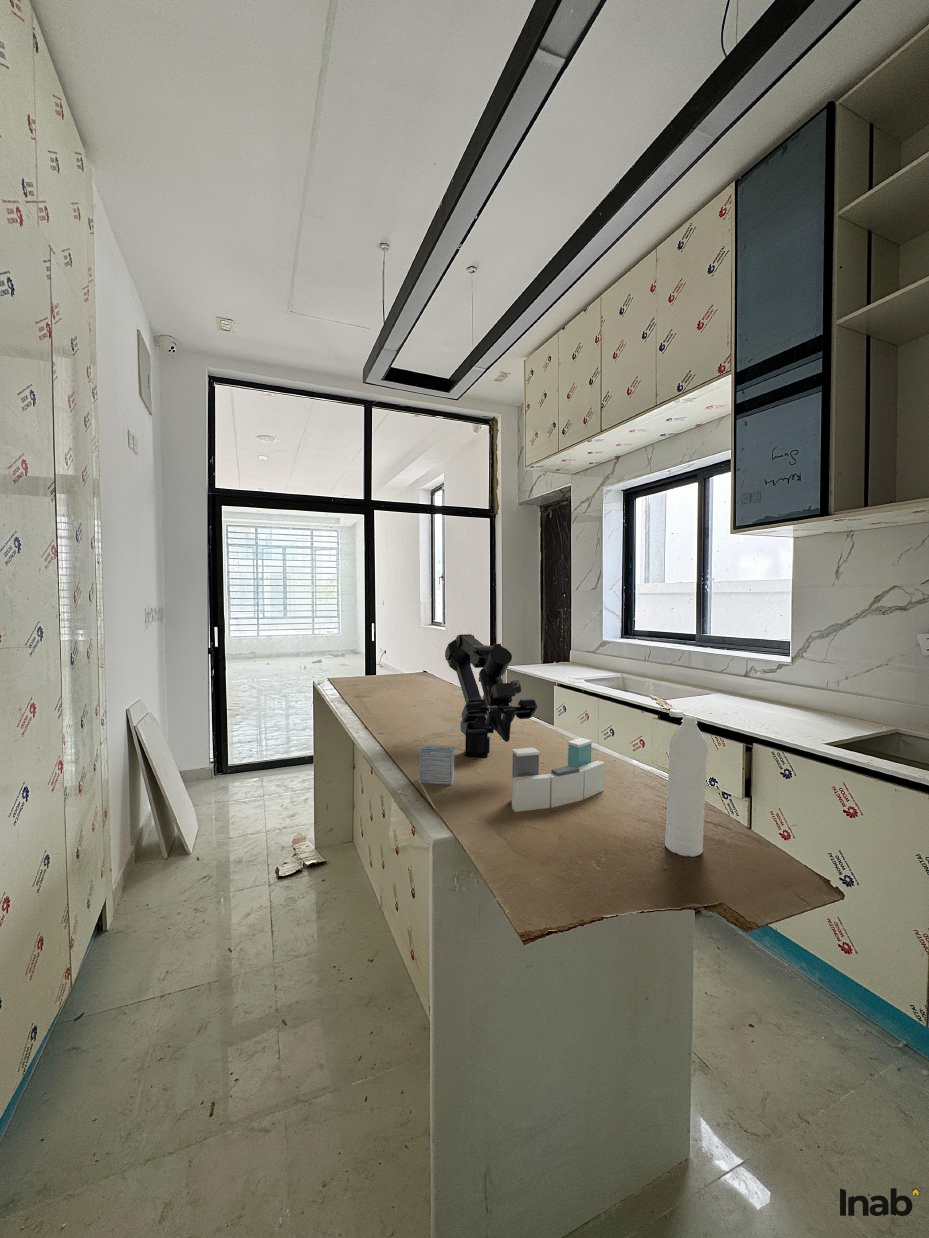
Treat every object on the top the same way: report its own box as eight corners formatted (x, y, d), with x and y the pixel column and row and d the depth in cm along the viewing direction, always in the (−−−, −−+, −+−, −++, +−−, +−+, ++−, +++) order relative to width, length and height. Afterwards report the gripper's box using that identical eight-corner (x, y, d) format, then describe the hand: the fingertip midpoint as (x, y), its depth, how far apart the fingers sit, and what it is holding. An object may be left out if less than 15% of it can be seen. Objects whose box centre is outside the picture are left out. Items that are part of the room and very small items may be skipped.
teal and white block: (566, 789, 124) (567, 741, 123) (579, 784, 128) (580, 737, 127) (577, 793, 122) (579, 744, 121) (590, 788, 125) (592, 740, 125)
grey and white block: (511, 799, 118) (512, 749, 117) (532, 797, 119) (533, 747, 118) (516, 805, 115) (517, 753, 114) (538, 803, 116) (539, 751, 115)
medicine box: (454, 779, 130) (454, 745, 130) (451, 786, 126) (452, 751, 125) (422, 777, 131) (423, 743, 130) (419, 784, 127) (420, 749, 126)
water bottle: (710, 856, 95) (717, 720, 94) (677, 858, 94) (683, 721, 92) (682, 833, 104) (688, 708, 102) (651, 835, 103) (657, 709, 101)
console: (521, 816, 110) (521, 780, 109) (509, 809, 113) (510, 774, 113) (610, 794, 122) (611, 761, 122) (597, 788, 126) (599, 756, 125)
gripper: (465, 670, 129) (478, 727, 119) (535, 667, 134) (553, 721, 124) (456, 695, 137) (468, 750, 127) (522, 691, 142) (538, 744, 132)
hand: (507, 741), depth 128 cm, fingers closed
